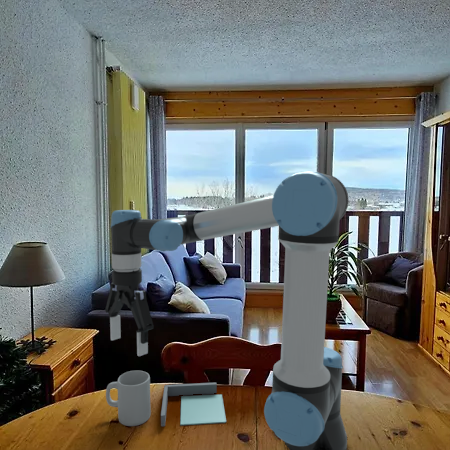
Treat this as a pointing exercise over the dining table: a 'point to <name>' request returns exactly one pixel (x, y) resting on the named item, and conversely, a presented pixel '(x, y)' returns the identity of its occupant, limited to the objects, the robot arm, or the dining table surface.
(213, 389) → the gray corner wall
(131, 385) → the mug
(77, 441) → the dining table surface
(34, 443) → the dining table surface
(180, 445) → the dining table surface
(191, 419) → the mat
